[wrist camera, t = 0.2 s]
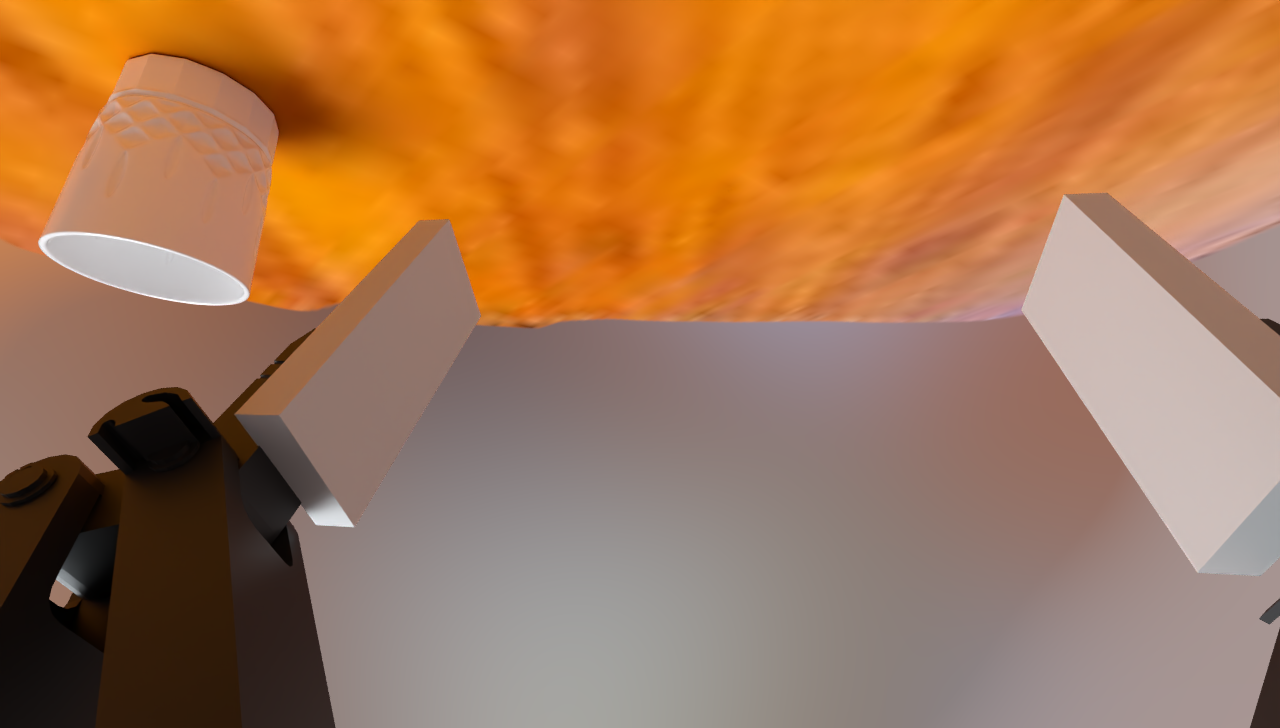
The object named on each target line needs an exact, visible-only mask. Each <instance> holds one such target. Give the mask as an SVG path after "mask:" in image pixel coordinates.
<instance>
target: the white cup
mask: <svg viewBox="0 0 1280 728" xmlns="http://www.w3.org/2000/svg"><path fill="white" fill-rule="evenodd" d="M278 135H279V130H278V127H277V123H276V120H275V116H274V114H273V113H272V111H271V110H270V109H269V108H268V107H267V106H266V105H265V104H264V103H263V102H262V101H261V100H260V99H259V98H258V97H257V95H256V94H255V93H253V92H252V91H250V90H249V89H247V88H245V87H244V86H242V85H241V84H239V83H238V82H236V81H234V80H233V79H231V78H230V77H228V76H226V75H225V74H223V73H221V72H218V71H216V70H213V69H211V68H208V67H206V66H203V65H201V64H198V63H196V62H193V61H190V60H188V59H184V58H178V57H172V56H165V55H158V54H148V55H144V56H140V57H136V58H132V59H129V60H127V62H126V64H125V66H124V68H123V70H122V73H121V75H120V77H119V80H118V82H117V84H116V86H115V89H114V91H113V93H112V95H111V96H110V98H109V100H108V103H107V104H106V105H105V106H104V107H103V108H102V109H101V110H100V111H99V114H98V117H97V119H96V121H95V122H94V124H93V126H92V127H91V129H90V131H89V133H88V135H87V138H86V141H85V144H84V146H83V147H82V149H81V150H80V152H79V154H78V155H77V157H76V159H75V161H74V164H73V166H72V169H71V171H70V173H69V175H68V178H67V180H66V182H65V184H64V186H63V189H62V191H61V193H60V195H59V197H58V200H57V202H56V204H55V206H54V208H53V210H52V213H51V215H50V217H49V219H48V221H47V224H46V226H45V228H44V230H43V232H42V234H41V237H40V239H39V242H38V244H39V247H40V249H41V250H42V251H43V252H44V253H45V254H46V255H47V256H48V257H50V258H51V259H52V260H54V261H56V262H57V263H59V264H61V265H62V266H64V267H66V268H68V269H70V270H72V271H74V272H76V273H78V274H81V275H83V276H85V277H88V278H91V279H93V280H96V281H98V282H101V283H104V284H107V285H110V286H113V287H116V288H120V289H123V290H126V291H130V292H134V293H137V294H141V295H145V296H150V297H154V298H159V299H164V300H169V301H175V302H182V303H189V304H198V305H232V304H237V303H241V302H243V301H245V300H247V299H248V297H249V295H250V290H251V285H252V280H253V274H254V269H255V264H256V259H257V254H258V249H259V244H260V240H261V235H262V230H263V225H264V220H265V215H266V207H267V197H268V194H269V190H270V186H271V174H272V168H271V166H272V163H273V159H274V154H275V150H276V145H277V140H278Z"/></svg>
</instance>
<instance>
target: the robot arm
mask: <svg viewBox="0 0 1280 728" xmlns="http://www.w3.org/2000/svg"><path fill="white" fill-rule="evenodd" d="M1022 312H1023V313H1024V315H1025V316H1026V318H1027V319H1028V320H1029V322H1030V324H1031V325H1032V326H1033V328H1034V329H1035V331H1036V332H1037V334H1038V335H1039V337H1040V338H1041V340H1042V341H1043V343H1044V344H1045V346H1046V347H1047V349H1048V350H1049V352H1050V353H1051V355H1052V356H1053V358H1054V359H1055V361H1056V362H1057V364H1058V365H1059V367H1060V368H1061V369H1062V371H1063V373H1064V374H1065V376H1066V377H1067V379H1068V380H1069V382H1070V383H1071V384H1072V386H1073V388H1074V389H1075V391H1076V392H1077V393H1078V395H1079V397H1080V398H1081V400H1082V401H1083V403H1084V404H1085V406H1086V407H1087V408H1088V410H1089V412H1090V413H1091V414H1092V416H1093V417H1094V419H1095V420H1096V422H1097V423H1098V425H1099V426H1100V428H1101V429H1102V431H1103V432H1104V434H1105V435H1106V437H1107V438H1108V440H1109V441H1110V443H1111V444H1112V446H1113V447H1114V449H1115V450H1116V452H1117V453H1118V455H1119V456H1120V458H1121V459H1122V460H1123V462H1124V464H1125V465H1126V467H1127V468H1128V470H1129V471H1130V472H1131V474H1132V476H1133V477H1134V479H1135V480H1136V482H1137V483H1138V484H1139V486H1140V488H1141V489H1142V491H1143V492H1144V494H1145V495H1146V496H1147V498H1148V499H1149V501H1150V502H1151V504H1152V505H1153V507H1154V508H1155V510H1156V511H1157V513H1158V514H1159V516H1160V517H1161V519H1162V520H1163V522H1164V523H1165V525H1166V526H1167V528H1168V529H1169V531H1170V532H1171V534H1172V535H1173V537H1174V538H1175V540H1176V541H1177V543H1178V544H1179V546H1180V547H1181V549H1182V550H1183V552H1184V553H1185V555H1186V556H1187V558H1188V559H1189V561H1190V562H1191V563H1192V565H1193V567H1194V568H1195V570H1196V571H1197V572H1198V573H1216V574H1234V575H1253V576H1261V575H1262V574H1263V573H1264V572H1265V571H1266V570H1267V569H1268V568H1269V567H1270V566H1271V565H1272V564H1273V563H1274V562H1275V561H1276V560H1277V559H1278V558H1279V557H1280V324H1278V323H1276V322H1274V321H1272V320H1270V319H1259V318H1258V317H1257V316H1255V315H1254V314H1253V313H1252V312H1250V311H1249V310H1248V309H1247V308H1246V307H1244V306H1243V305H1242V304H1241V303H1240V302H1238V301H1237V300H1236V299H1235V298H1234V297H1232V296H1231V295H1230V294H1229V293H1228V292H1226V291H1225V290H1224V289H1223V288H1221V287H1220V286H1219V285H1218V284H1217V283H1215V282H1214V281H1213V280H1212V279H1211V278H1209V277H1208V276H1207V275H1206V274H1205V273H1203V272H1202V271H1201V270H1200V269H1198V268H1197V267H1196V266H1195V265H1194V264H1192V263H1191V262H1190V261H1189V260H1188V259H1186V258H1185V257H1184V256H1183V255H1182V254H1180V253H1179V252H1178V251H1177V250H1176V249H1174V248H1173V247H1172V246H1171V245H1170V244H1168V243H1167V242H1166V241H1165V240H1164V239H1162V238H1161V237H1160V236H1159V235H1157V234H1156V233H1155V232H1154V231H1153V230H1151V229H1150V228H1149V227H1148V226H1147V225H1145V224H1144V223H1143V222H1142V221H1141V220H1139V219H1138V218H1137V217H1136V216H1135V215H1133V214H1132V213H1131V212H1130V211H1128V210H1127V209H1126V208H1125V207H1124V206H1122V205H1121V204H1120V203H1119V202H1118V201H1116V200H1115V199H1114V198H1113V197H1112V196H1110V195H1109V194H1108V193H1087V194H1064V196H1063V198H1062V201H1061V204H1060V207H1059V209H1058V212H1057V215H1056V217H1055V220H1054V223H1053V226H1052V228H1051V231H1050V234H1049V236H1048V239H1047V242H1046V245H1045V247H1044V250H1043V253H1042V255H1041V258H1040V261H1039V264H1038V266H1037V269H1036V272H1035V274H1034V277H1033V280H1032V283H1031V285H1030V288H1029V291H1028V293H1027V296H1026V299H1025V302H1024V304H1023V307H1022ZM480 317H481V315H480V312H479V309H478V306H477V303H476V299H475V296H474V293H473V290H472V287H471V284H470V281H469V278H468V275H467V272H466V269H465V266H464V263H463V260H462V257H461V254H460V251H459V247H458V244H457V241H456V238H455V235H454V232H453V229H452V226H451V223H450V220H449V219H445V220H420V221H418V222H417V223H416V225H415V226H414V227H413V228H412V229H411V230H410V231H409V232H408V233H407V234H406V235H405V236H404V237H403V238H402V239H401V240H400V241H399V242H398V243H397V244H396V245H395V247H394V248H393V249H392V250H391V251H390V252H389V253H388V254H387V255H386V256H385V257H384V258H383V259H382V260H381V261H380V262H379V263H378V264H377V265H376V266H375V267H374V269H373V270H372V271H371V272H370V273H369V274H368V275H367V276H366V277H365V278H364V279H363V280H362V281H361V282H360V283H359V284H358V285H357V286H356V287H355V288H354V289H353V291H352V292H351V293H350V294H349V295H348V296H347V297H346V298H345V299H344V300H343V301H342V302H341V303H340V304H339V305H338V306H337V307H336V308H335V309H334V310H333V311H332V313H331V314H330V315H329V316H328V317H327V318H326V319H325V320H324V321H323V322H322V323H321V324H320V325H319V326H318V327H317V328H315V329H313V330H312V331H310V332H309V333H307V334H306V335H304V336H302V337H301V338H299V339H298V340H296V341H295V342H293V343H291V344H290V345H289V346H288V347H287V348H286V349H285V350H284V351H283V352H282V353H281V354H280V355H279V357H278V358H277V359H276V360H275V361H274V362H275V364H271V365H270V366H269V367H268V368H267V369H266V370H265V371H264V372H263V373H262V374H261V378H260V379H256V380H255V381H254V382H253V383H252V384H251V385H250V386H249V387H248V388H247V389H246V390H245V391H244V392H243V393H242V394H241V395H240V396H239V397H238V398H237V399H236V400H235V401H234V402H233V404H231V406H230V407H229V408H228V409H227V410H226V411H225V412H224V413H223V414H222V415H221V416H220V417H219V418H218V419H217V420H216V421H215V422H214V423H212V421H211V420H210V419H209V417H208V416H207V415H206V414H205V412H204V411H203V410H202V409H201V407H200V406H199V405H198V403H197V402H196V401H195V400H194V399H193V397H192V396H191V394H190V393H189V392H188V391H187V390H185V389H181V388H178V387H171V388H161V389H157V390H153V391H150V392H146V393H143V394H141V395H138V396H136V397H134V398H132V399H130V400H127V401H125V402H123V403H122V404H120V405H119V406H117V407H115V408H114V409H112V410H111V411H109V412H108V413H106V414H105V415H104V416H103V417H102V418H101V419H100V420H99V421H98V422H97V423H96V424H95V425H94V426H93V428H92V429H91V431H90V433H89V435H88V438H89V439H90V440H91V441H92V442H93V443H94V444H95V445H96V446H97V447H98V448H99V449H100V450H101V451H102V452H103V453H104V454H105V455H106V456H107V457H108V458H109V459H110V460H111V461H112V462H113V463H114V464H115V465H116V466H117V467H118V468H119V469H118V470H114V471H110V472H105V473H100V474H94V473H93V472H92V471H91V470H90V469H89V468H88V467H87V466H86V465H85V464H84V463H83V462H82V461H81V460H80V459H79V458H78V457H76V456H71V455H59V456H53V457H48V458H45V459H42V460H40V461H37V462H34V463H30V464H27V465H25V466H23V467H21V468H20V470H18V469H17V470H15V471H13V472H11V473H10V474H8V475H7V476H6V477H5V479H3V480H2V481H0V728H335V723H334V718H333V713H332V708H331V702H330V697H329V692H328V687H327V682H326V676H325V671H324V666H323V661H322V656H321V651H320V645H319V640H318V635H317V630H316V625H315V620H314V615H313V609H312V604H311V599H310V594H309V589H308V584H307V579H306V573H305V568H304V563H303V558H302V553H301V548H300V542H299V537H298V533H297V532H296V530H295V528H294V526H293V525H292V524H291V522H290V521H289V520H290V519H291V517H292V516H293V514H294V513H295V511H296V510H297V508H298V507H299V506H300V504H301V505H302V506H303V508H304V509H305V511H306V512H307V513H308V515H309V516H310V517H311V519H312V520H313V521H314V523H315V524H316V525H326V526H344V527H355V525H356V524H357V522H358V521H359V519H360V517H361V516H362V514H363V512H364V511H365V509H366V507H367V506H368V504H369V502H370V501H371V499H372V497H373V495H374V494H375V492H376V490H377V489H378V487H379V485H380V484H381V482H382V480H383V479H384V477H385V475H386V474H387V472H388V470H389V469H390V467H391V465H392V464H393V462H394V460H395V459H396V457H397V455H398V453H399V452H400V450H401V449H402V447H403V445H404V443H405V442H406V440H407V439H408V437H409V435H410V434H411V432H412V430H413V429H414V427H415V425H416V424H417V422H418V420H419V419H420V417H421V415H422V413H423V412H424V410H425V409H426V407H427V405H428V404H429V402H430V400H431V399H432V397H433V395H434V394H435V392H436V390H437V389H438V387H439V385H440V384H441V382H442V380H443V378H444V377H445V375H446V373H447V372H448V370H449V369H450V367H451V365H452V363H453V362H454V360H455V358H456V357H457V355H458V353H459V352H460V350H461V348H462V347H463V345H464V343H465V342H466V340H467V338H468V336H469V335H470V333H471V332H472V330H473V328H474V327H475V325H476V323H477V322H478V320H479V318H480ZM55 580H57V581H59V582H60V583H61V584H63V585H64V586H65V587H67V588H68V589H70V590H71V591H72V592H73V594H72V595H71V597H70V600H69V601H68V603H67V604H66V606H65V607H64V608H63V607H60V606H57V605H56V604H55V603H53V602H52V601H51V600H49V597H50V593H51V588H52V586H53V584H54V582H55ZM1279 616H1280V599H1279V600H1277V601H1276V602H1275V603H1274V604H1273V605H1272V606H1271V607H1270V608H1268V609H1267V610H1266V611H1265V613H1264V614H1263V615H1262V616H1261V617H1260V620H1262V621H1264V622H1266V623H1268V624H1271V623H1272V622H1273V621H1274V620H1275V619H1276V618H1277V617H1279ZM1250 728H1280V629H1279V633H1278V636H1277V639H1276V643H1275V646H1274V649H1273V653H1272V656H1271V659H1270V663H1269V666H1268V670H1267V673H1266V676H1265V680H1264V683H1263V686H1262V690H1261V693H1260V696H1259V699H1258V703H1257V706H1256V710H1255V713H1254V716H1253V719H1252V723H1251V726H1250Z"/></svg>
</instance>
